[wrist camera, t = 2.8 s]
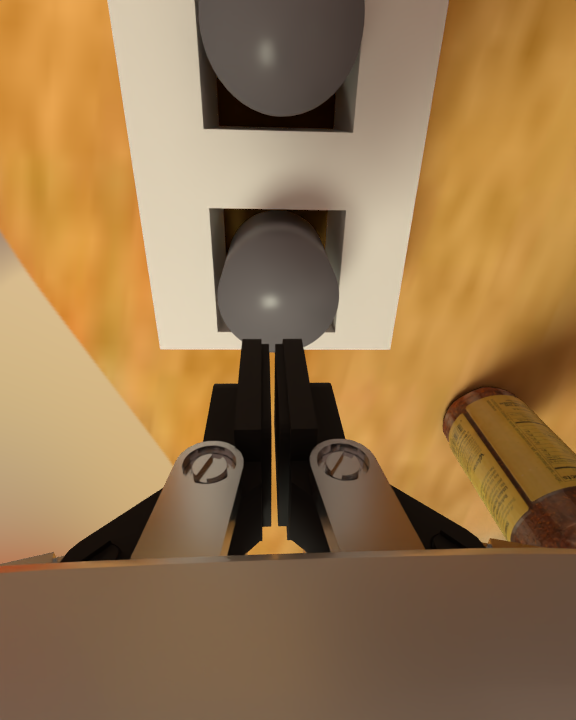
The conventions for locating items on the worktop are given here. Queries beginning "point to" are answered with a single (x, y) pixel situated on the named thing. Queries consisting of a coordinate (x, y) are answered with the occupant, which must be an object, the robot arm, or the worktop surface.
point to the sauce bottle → (515, 467)
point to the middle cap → (282, 49)
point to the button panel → (275, 166)
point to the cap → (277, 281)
